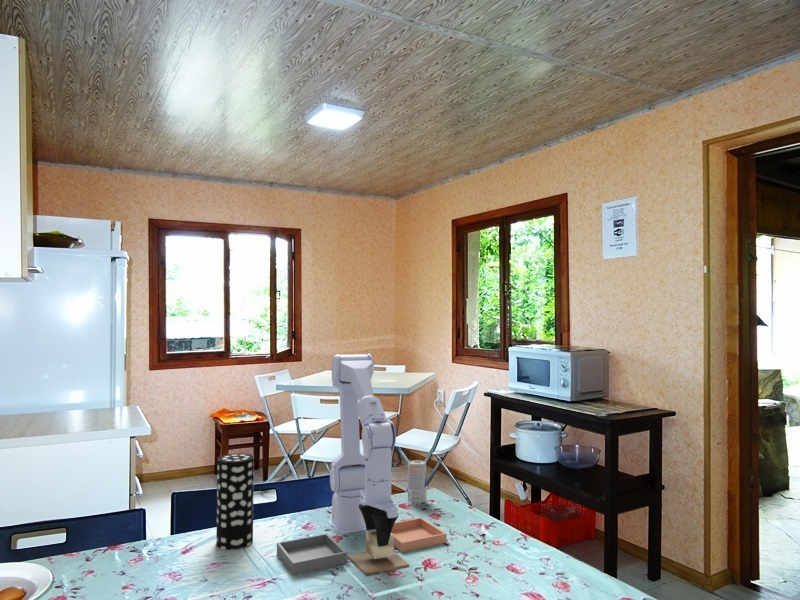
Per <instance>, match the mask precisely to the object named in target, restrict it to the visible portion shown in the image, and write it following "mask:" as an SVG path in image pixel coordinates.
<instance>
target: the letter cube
mask: <svg viewBox="0 0 800 600" xmlns="http://www.w3.org/2000/svg"><path fill="white" fill-rule="evenodd" d="M365 531H366V532H365V552H367V553H368V554H369V555H370V556H371V557H372V558H374V559H378V558H384V557H389V556H393V551H394V548H395V546H394V534H393V533H391V535H390V539H389V543H388V545H386V546H381V547H379V546H378V543H377V535H376V529H373V530H365Z"/></svg>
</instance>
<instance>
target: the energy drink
mask: <svg viewBox="0 0 800 600" xmlns="http://www.w3.org/2000/svg"><path fill="white" fill-rule="evenodd" d="M427 469H428V467H427V461H426V460H423V459H422V460H421V459H413V460H409V461H408V464H407V504H408V506H410V507H414V506H418V507H419V506H424V505H427V492H428V491H427V485H428V484H427V473H428V472H427V471H428V470H427Z"/></svg>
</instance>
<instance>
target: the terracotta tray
mask: <svg viewBox="0 0 800 600" xmlns="http://www.w3.org/2000/svg"><path fill="white" fill-rule="evenodd" d="M391 533H393V534H394V548H395V549H397V550H399V551H400V552H401V553H403V552H404V553H405V552H409V551H413V550H418V549H421V548H426V547H427V548H428V547H430V546H431V547H432V546H436V545H442V544H445V543H447V533H446V532H445V531H443V530H442V529H440V528H438V527H437V526H436V525H433V524H432V523H431V522H429V521H427V520H426V519H424V518H423V517H416V518H411V519H406V520H400V521H395V523H394V525H393V528H392V531H391Z"/></svg>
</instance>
